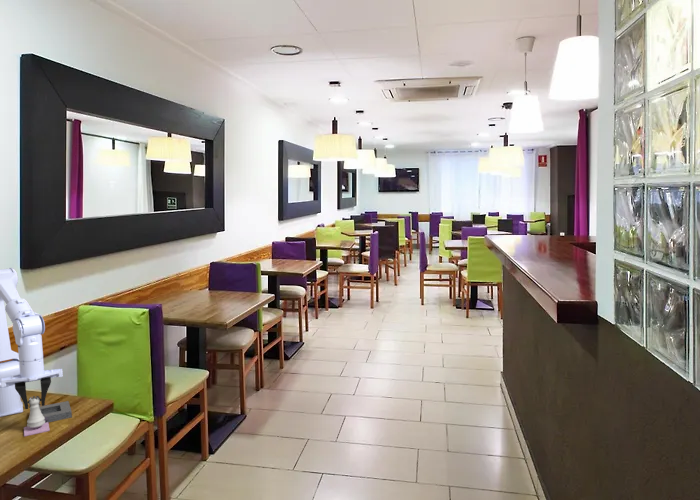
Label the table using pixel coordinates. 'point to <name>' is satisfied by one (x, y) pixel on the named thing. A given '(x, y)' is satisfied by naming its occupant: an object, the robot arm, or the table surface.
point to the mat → (36, 429)
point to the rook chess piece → (35, 413)
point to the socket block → (56, 411)
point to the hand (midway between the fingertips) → (34, 406)
